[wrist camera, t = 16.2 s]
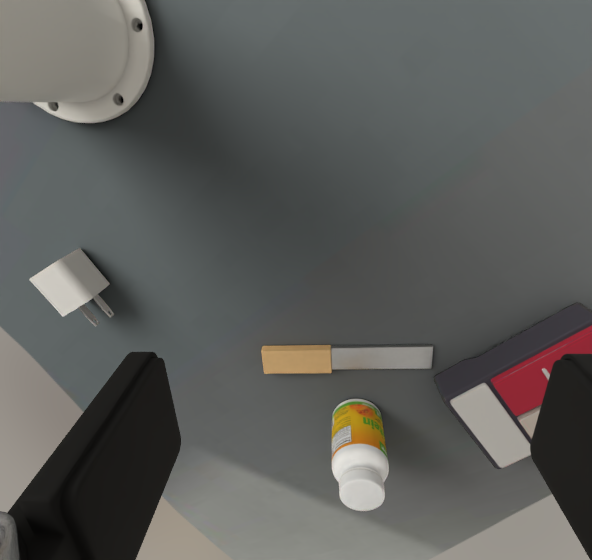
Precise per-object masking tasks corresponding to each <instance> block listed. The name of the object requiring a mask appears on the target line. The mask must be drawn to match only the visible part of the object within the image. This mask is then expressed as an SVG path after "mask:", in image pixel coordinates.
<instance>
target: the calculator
mask: <svg viewBox="0 0 592 560" xmlns="http://www.w3.org/2000/svg"><path fill="white" fill-rule="evenodd" d="M564 354H592V311H591V310H590V309H588V308H587V307H585V306H584V305H582V304H581V303H575V304H573V305H571V306H569V307H567V308H566V309H564V310H562V311H560V312H558V313H556V314H555V315H553V316H551V317H549V318H547V319H546V320H544V321H542V322H540V323H538V324H537V325H535V326H533V327H531V328H529V329H528V330H526V331H524V332H522V333H520V334H518V335H517V336H515V337H513V338H511V339H509V340H508V341H506V342H504V343H502V344H500V345H499V346H497V347H495V348H493V349H491V350H490V351H488V352H486V353H484V354H482V355H480V356H479V357H477V358H473V359H466V360H463V361H461V362H460V363H458V364H456V365H454V366H452V367H451V368H449V369H447V370H445V371H443V372H442V373H440V374H438V375H436V376H435V377H434V381H435V384H436V386H437V388H438V390H439V393H440V395H441V397H442V399H443V401H444V403H445V404H446V406H447V407H448V408H449V409H450V411H451V412H452V413H453V414H454V416H455V417H456V418H457V420H458V421H459V422H460V423H461V425H462V426H463V427H464V429H465V430H466V431H467V432H468V434H469V435H470V436H471V438H472V439H473V440H474V441H475V443H476V444H477V445H478V446H479V448H480V449H481V450H482V452H483V453H484V454H485V455H486V457H487V458H488V459H489V461H490V462H491V463H492V464H493V466H494V467H495V468H497V469H501V468H503V467H506V466H508V465H510V464H512V463H514V462H517V461H519V460H521V459H523V458H525V457H527V456H530V455H531V451H530V444H531V440H532V436H533V433H534V429H535V426H536V422H537V419H538V415H539V412H540V408H541V405H542V401H543V398H544V394H545V391H546V387H547V384H548V380H549V377H550V373H551V370H552V366H553V364H554V362H555V361H556V360H560V359H561V357H562V356H563V355H564Z"/></svg>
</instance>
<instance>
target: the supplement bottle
mask: <svg viewBox="0 0 592 560" xmlns="http://www.w3.org/2000/svg"><path fill="white" fill-rule="evenodd" d="M332 471H333V474H334V476H335V478H336V480H337V481H338V482H339V494H340V498H341V501H342V502H343V503H344V504H345V505H346V506H347V507H349V508H351V509H354V510H358V511H368V510H372V509H375V508H377V507H379V506H380V505H381V504H382V503H383V501H384V498H385V490H384V483H383V482H384V481H385V480H386V478H387V476H388V473H389V464H388V457H387V451H386V444H385V437H384V430H383V423H382V417H381V413H380V411H379V409H378V408H377V407H376V406H375V405H374V404H373V403H371V402H369V401H367V400H363V399H349V400H346V401H344V402H342V403H340V404H339V405H338V406H337V407H336V408H335V410H334V412H333V416H332Z"/></svg>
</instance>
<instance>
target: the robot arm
mask: <svg viewBox="0 0 592 560" xmlns="http://www.w3.org/2000/svg"><path fill="white" fill-rule="evenodd" d="M141 23H142V24H143V28H142V30H140V28H139V26H140V24H141ZM153 61H154V35H153V28H152V21H151V18H150V15H149V12H148V8H147V5H146V2H145V0H0V102H33V103H34V104H36V105H37V106H39V107H40V108H42V109H43V110H45V111H46V112H48V113H50V114H52V115H54V116H56V117H59V118H61V119H63V120H68V121H72V122H76V123H98V122H105V121H108V120H111V119H114V118H117V117H118V116H120V115H122V114H123V113H125V112H127V111H128V110H129V109H130V108H131V107H132V106H133V105H134V104H135V103H136V102H137V101H138V100H139V98H140V97H141V95H142V93H143V92H144V90H145V89H146V86H147V84H148V81H149V78H150V76H151V72H152V67H153ZM121 97H123V102H122V101H121ZM58 105H59V106H58ZM180 446H181V436H180V432H179V427H178V422H177V418H176V413H175V409H174V404H173V400H172V395H171V391H170V386H169V382H168V377H167V372H166V368H165V363H164V360H163V359H162V358H158V357H157V355H156V354H155V353H154V352H131V353H129V354H128V355H127V356H126V357H125V359H124V360H123V361H122V363H121V364H120V365H119V367H118V368H117V369H116V371H115V372H114V373H113V375H112V376H111V377H110V378H109V380H108V381H107V382H106V384H105V385H104V386H103V388H102V389H101V390H100V392H99V393H98V394H97V396H96V397H95V398H94V400H93V401H92V402H91V404H90V405H89V406H88V407H87V409H86V410H85V411H84V413H83V414H82V415H81V417H80V418H79V419H78V421H77V422H76V423H75V425H74V426H73V427H72V429H71V430H70V432H68V434H67V435H66V437H65V438H64V439H63V440H62V442H61V443H60V444H59V446H58V447H57V448H56V450H55V451H54V452H53V454H52V455H51V456H50V457H49V459H48V460H47V461H46V463H45V464H44V465H43V467H42V468H41V469H40V471H39V472H38V474H37V475H36V476H35V477H34V479H33V480H32V481H31V483H30V484H29V485H28V487H27V488H26V489H25V490H24V492H23V493H22V495H21V496H20V497H19V498H18V500H17V501H16V502H15V504H14V505H13V506H12V508H11V509H10V510H9V512H8V513H6V512H0V560H135V559H136V557H137V554H138V552H139V549H140V547H141V545H142V542H143V540H144V537H145V535H146V532H147V530H148V527H149V525H150V523H151V520H152V518H153V515H154V513H155V510H156V508H157V505H158V503H159V500H160V498H161V495H162V493H163V491H164V488H165V486H166V483H167V481H168V478H169V476H170V473H171V471H172V468H173V466H174V463H175V461H176V458H177V456H178V454H179V451H180ZM530 451H531V456H532V459H533V461H534V463H535V464H536V466H537V468H538V470H539V471H540V473H541V475H542V477H543V478H544V480H545V482H546V484H547V485H548V487H549V489H550V490H551V492H552V494H553V496H554V497H555V499H556V501H557V503H558V504H559V506H560V508H561V510H562V511H563V513H564V515H565V516H566V518H567V520H568V522H569V523H570V525H571V527H572V529H573V530H574V532H575V534H576V535H577V537H578V539H579V541H580V542H581V544H582V546H583V548H584V549H585V551H586V552H587V555H588V556H589V558H590V560H592V354H564V355H563V356H562V357H561V359H560V360H556V361H555V362H554V364H553V366H552V370H551V373H550V377H549V380H548V384H547V387H546V391H545V394H544V398H543V401H542V405H541V408H540V412H539V415H538V419H537V422H536V426H535V429H534V433H533V436H532V440H531V444H530Z"/></svg>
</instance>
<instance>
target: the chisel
mask: <svg viewBox="0 0 592 560" xmlns="http://www.w3.org/2000/svg"><path fill="white" fill-rule="evenodd" d="M261 353H262V360H263V368H264V374H277V373H332V369H432V358H433V345H432V344H419V345H348V346H331V345H289V346H263V347H262V351H261Z"/></svg>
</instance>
